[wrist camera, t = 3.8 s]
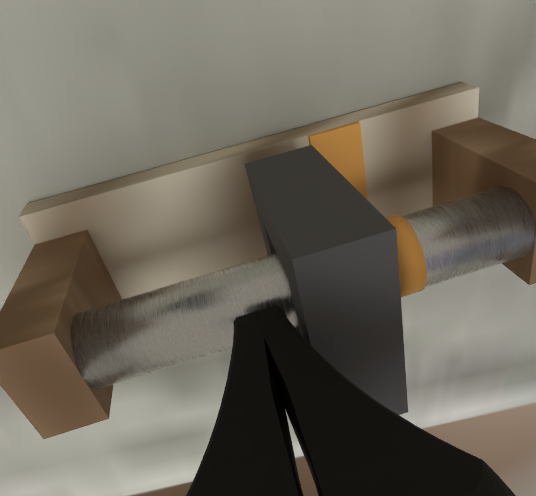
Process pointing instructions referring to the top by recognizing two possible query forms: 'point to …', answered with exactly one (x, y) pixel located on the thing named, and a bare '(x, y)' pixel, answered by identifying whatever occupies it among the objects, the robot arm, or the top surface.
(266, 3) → the top surface
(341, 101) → the top surface
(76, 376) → the pipe stand
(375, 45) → the top surface
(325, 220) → the collar
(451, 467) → the robot arm
